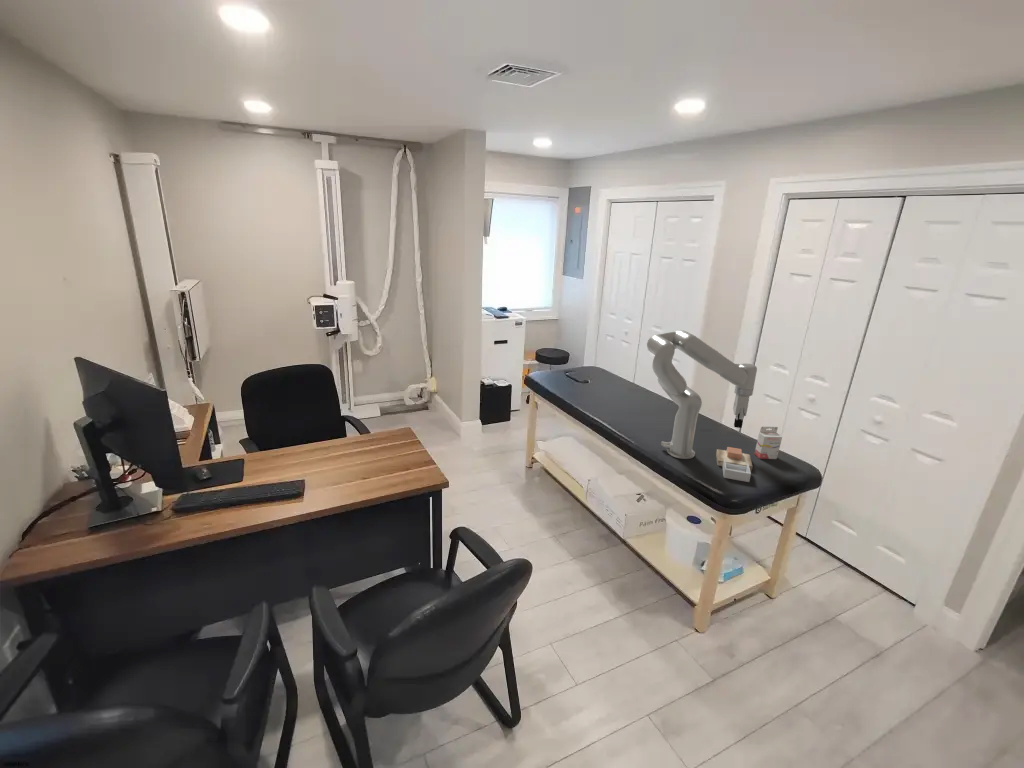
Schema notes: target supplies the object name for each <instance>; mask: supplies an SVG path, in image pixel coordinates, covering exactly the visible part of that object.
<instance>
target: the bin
mask: <svg viewBox="0 0 1024 768" xmlns="http://www.w3.org/2000/svg"><path fill="white" fill-rule="evenodd" d="M721 467H722V468H721V469H722V474H723V478H724V479H731V480H734V481H735V480H736V481H739V482H740V481H741V482H747V483H750V481H751V476H752V471H750V468H749V464H747V467H746V466H740V465H734V464H728V463H725V460H724V461H723V466H721Z"/></svg>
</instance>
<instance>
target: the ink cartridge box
mask: <svg viewBox="0 0 1024 768" xmlns="http://www.w3.org/2000/svg"><path fill="white" fill-rule="evenodd" d="M778 429H779V426H761V427H760V430H759V433H758V438H757V441H756V444H755V450H754V453H753V454H754V455H755V456H756V457H757V458H759V459H760V460H777V459H778V456H779V451H780V448H781V444H782V440H783V436H782V435H781V434H780V433H778Z"/></svg>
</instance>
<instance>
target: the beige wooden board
mask: <svg viewBox="0 0 1024 768" xmlns="http://www.w3.org/2000/svg"><path fill="white" fill-rule="evenodd" d="M726 450H727V449H726ZM726 450H725V449H719V448H718V449H717V448H716V452H715V456H716V464H717V466H718V467H719V466H720V467H722V466H723V461H724V460H725V463H728V464H734V465H740V466H746V467H747V464H749V468H750V472H752V470H753V463H752V459H751V455H750V454H748V453H744V452H742V460H741V459H735V458H729V457H727V453H726Z"/></svg>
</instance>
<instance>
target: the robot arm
mask: <svg viewBox="0 0 1024 768" xmlns="http://www.w3.org/2000/svg"><path fill="white" fill-rule="evenodd" d="M646 346H647V350H648V351H649V352H650V353H651V354H653V355H654V357H653V359H652V360H653V361H652V370H653V373H654V374H655V375H656V377H657V383H658V384H659V386H660V387H661V389H662V390H663V391H664V392H665V394H666V395H667V396H668V397H669V399H671V400H672V402H674V403H675V404H676V405H677V406H678V408H677V409H678V410H677V412H676V414H675V416H674V423H673V430H672V436H671V440H670V441H668V442H666V441H663V440H662V441H661V442H660V446H663V448H666V452H667V454H669V455H670V456H671V457H674V458H676V459H682V460H689V459H693V458H694V457H695V455H696V452H695V450H693V446H694V439H695V433H696V426H697V420H698V417H699V414H700V411H701V408H702V405H703V404H702V403H703V402H702V398H701V396H700V394H698V393H697V392H696V391H695V390H693V389H692V388H690V387H689V386H688V385H687V381H686V379H685V378H684V376H683V375H682V374H681V373H680V372H679V371H678V369H677V368H676V367H675V366H674V364H673V358H674V356H675V349H678V350H679V351H681V352H683V353H684V354H685V355H687V356H688V357H689V358H691V359H693V360H694V361H696V363H698V364H700V365H701V366H703V367H704V368H706V369H708V370H710V371H712V372H714V373H716V374H718V375H719V376H720V377H721V378H722V379H723V380H725V381H727V382H728V383H731V384H732V385H733V386H734V395H735V396H734V401H733V406H732V411H733V414H734V416H735V418H734V423H733V427H734V428H738V429H739V428H740V429H742V428H743V427H742V426H743V421H744V417H746V416H747V412H748V407H749V402H750V397H751V396H753V394H754V388H755V382H756V377H757V371H758V368H757V366H756V365H755V364H752V363H741V364H739V363H734V362H733V361H732V360H730V359H728V358H727V357H726V356H725V355H723V354H722V353H721V352H719V351H718V350H716V349H715V348H713V347H712V346H710V345H708V344H707V343H706V342H704V341H703V340H702V339H700V338H699V337H698V336H696V335H694V334H692V333H690V332H688V331H685V330H675V331H669V332H664V333H658V334H655V335H652V336H651V337H649V338H648V340H647V343H646Z"/></svg>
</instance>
